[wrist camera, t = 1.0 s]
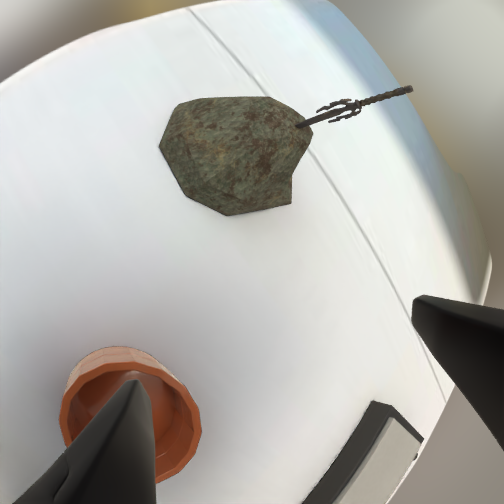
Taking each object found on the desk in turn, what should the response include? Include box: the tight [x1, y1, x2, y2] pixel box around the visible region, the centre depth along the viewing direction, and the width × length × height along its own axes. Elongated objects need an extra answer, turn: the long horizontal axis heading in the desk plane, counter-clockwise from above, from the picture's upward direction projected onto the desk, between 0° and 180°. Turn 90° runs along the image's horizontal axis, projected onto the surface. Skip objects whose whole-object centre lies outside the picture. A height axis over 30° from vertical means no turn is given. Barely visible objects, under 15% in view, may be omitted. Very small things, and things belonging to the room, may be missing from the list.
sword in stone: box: [159, 86, 413, 216], centre depth 15 cm, size 10×8×12 cm
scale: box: [302, 401, 424, 504], centre depth 21 cm, size 14×11×3 cm
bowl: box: [59, 346, 202, 483], centre depth 13 cm, size 7×7×4 cm
